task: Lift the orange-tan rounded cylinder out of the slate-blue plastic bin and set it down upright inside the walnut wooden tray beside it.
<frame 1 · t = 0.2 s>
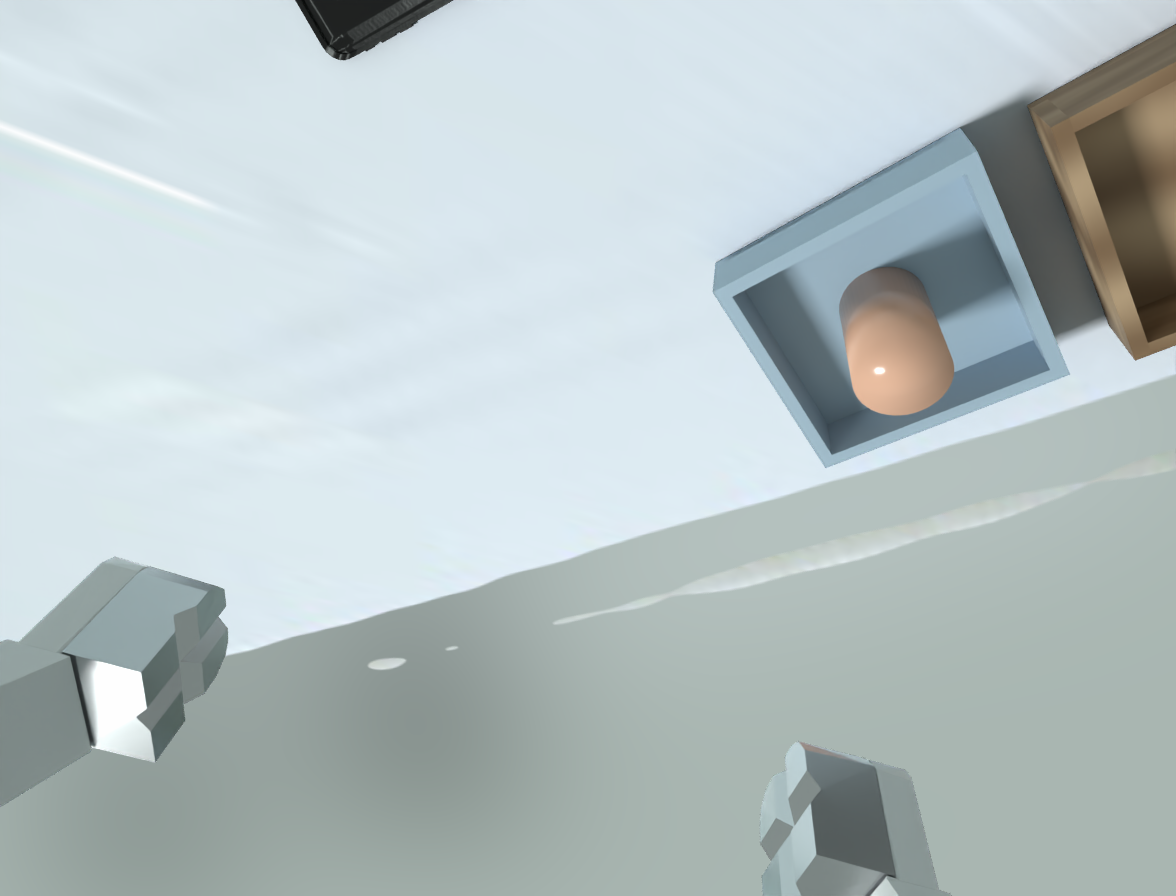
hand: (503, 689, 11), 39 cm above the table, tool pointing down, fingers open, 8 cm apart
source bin: (881, 300, 47), on the table
orange-tan rounded cylinder: (882, 305, 46), point 1 cm above the table, touching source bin
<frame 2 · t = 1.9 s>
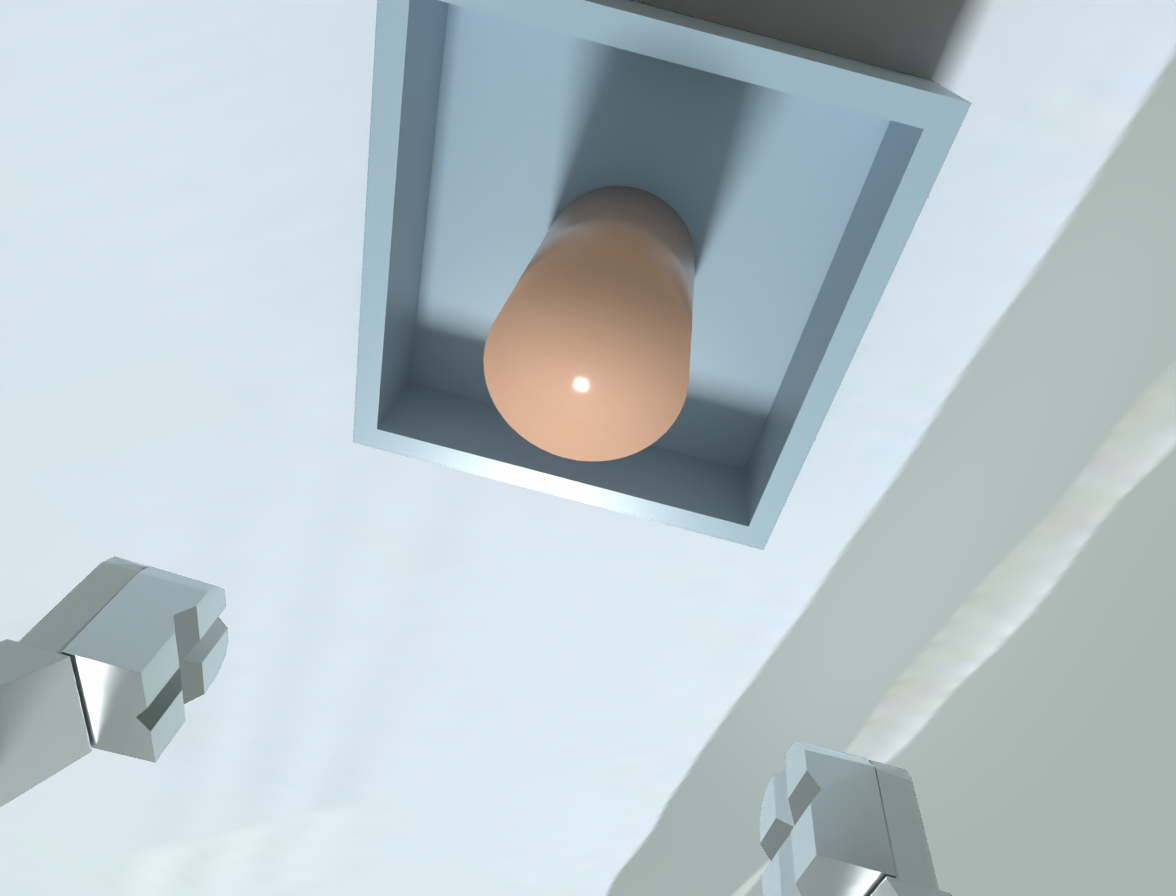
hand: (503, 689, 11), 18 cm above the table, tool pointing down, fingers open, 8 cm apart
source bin: (620, 257, 26), on the table
orange-tan rounded cylinder: (618, 263, 25), point 1 cm above the table, touching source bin
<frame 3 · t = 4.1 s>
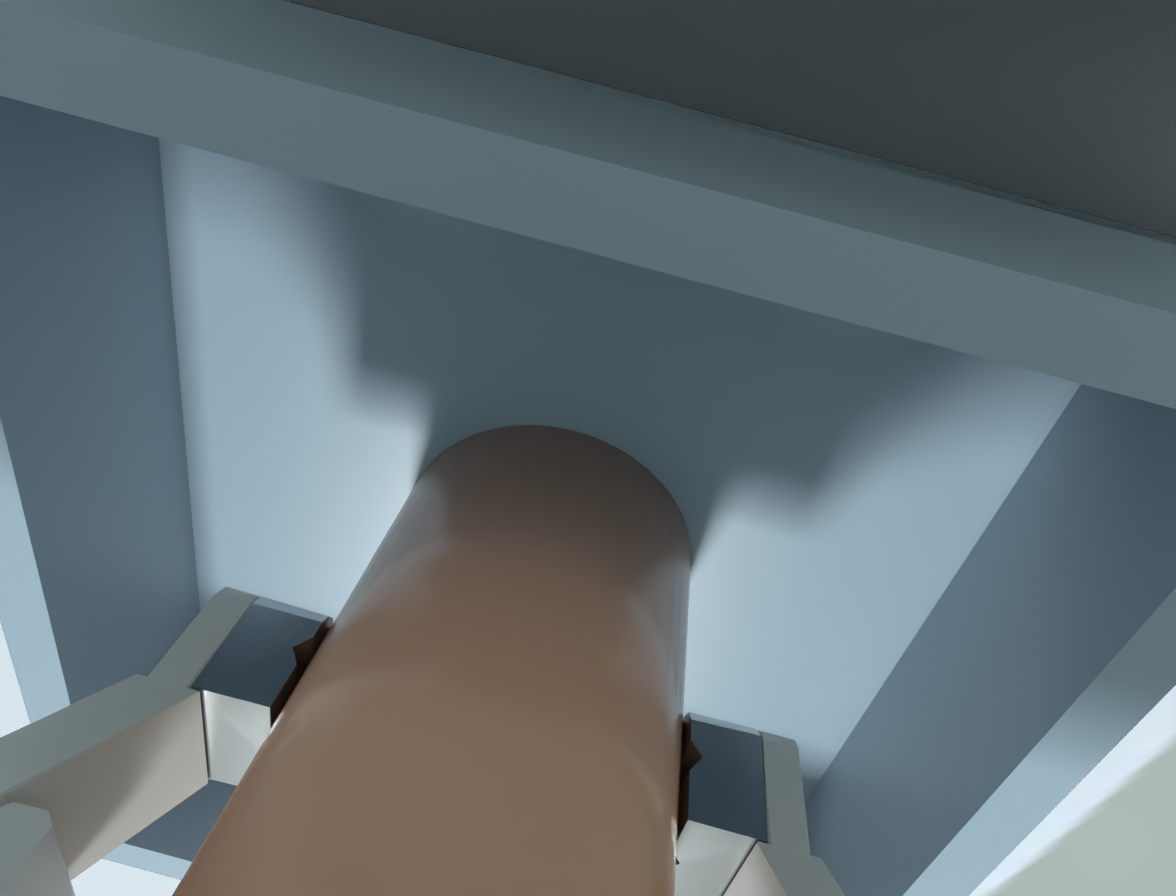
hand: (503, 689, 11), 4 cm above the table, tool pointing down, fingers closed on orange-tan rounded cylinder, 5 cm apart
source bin: (552, 528, 14), on the table
orange-tan rounded cylinder: (546, 549, 13), point 1 cm above the table, touching gripper, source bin
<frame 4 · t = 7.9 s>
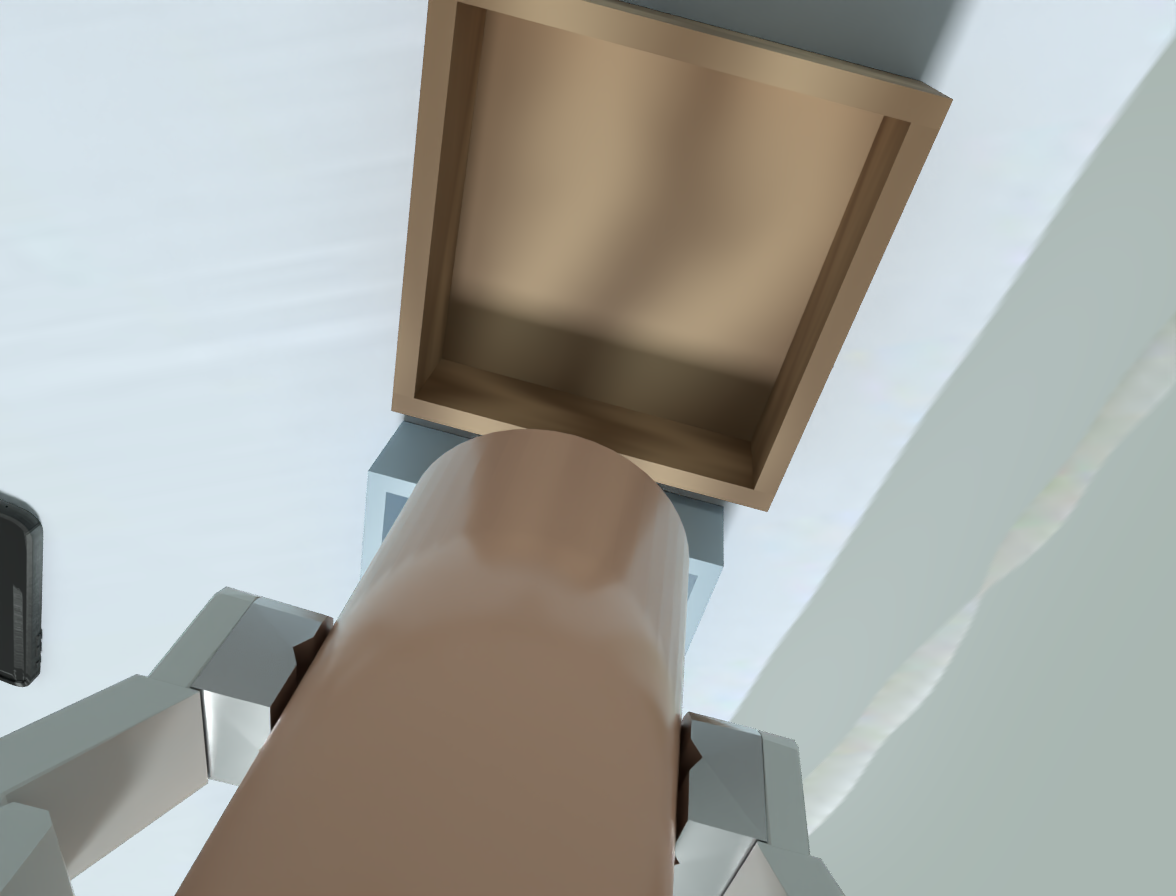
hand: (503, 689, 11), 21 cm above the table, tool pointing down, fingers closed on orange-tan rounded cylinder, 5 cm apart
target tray: (637, 242, 28), on the table
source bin: (533, 582, 38), on the table
orange-tan rounded cylinder: (544, 552, 13), point 18 cm above the table, touching gripper
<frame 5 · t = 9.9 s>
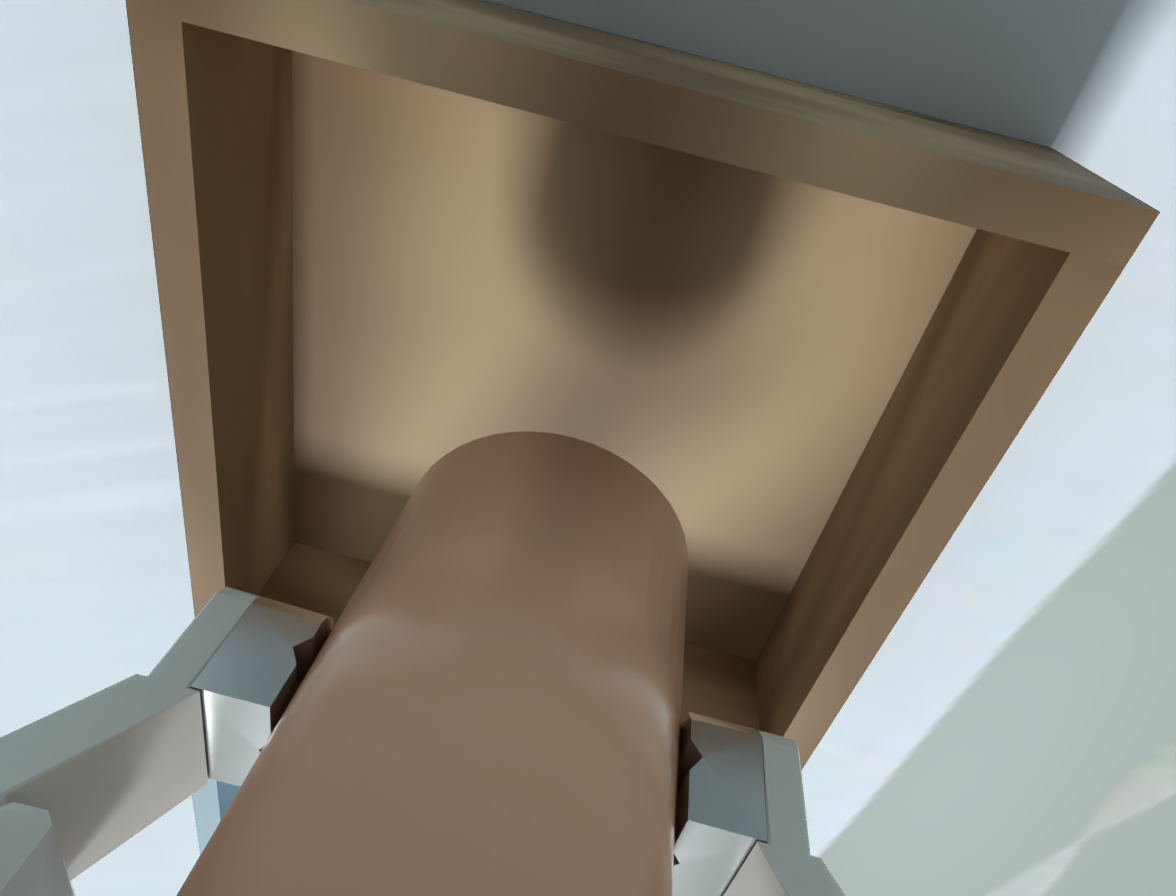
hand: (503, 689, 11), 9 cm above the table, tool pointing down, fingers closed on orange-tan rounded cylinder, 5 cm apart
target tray: (576, 390, 18), on the table
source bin: (458, 799, 28), on the table
orange-tan rounded cylinder: (544, 554, 13), point 5 cm above the table, touching gripper
when the fingers open (5 cm above the table, at t = 11.5 s): orange-tan rounded cylinder drops 1 cm, resting on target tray.
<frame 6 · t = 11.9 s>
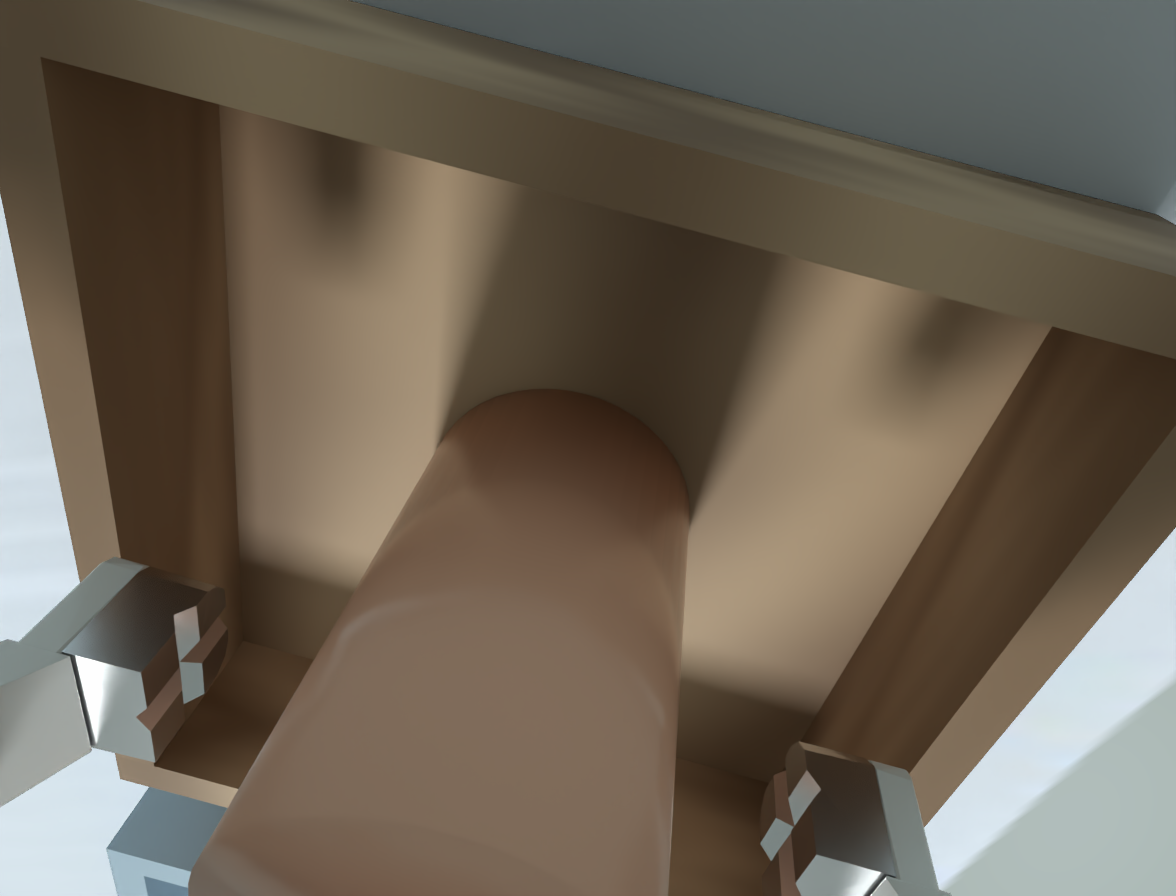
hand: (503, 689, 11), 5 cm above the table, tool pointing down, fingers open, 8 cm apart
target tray: (567, 481, 15), on the table
orange-tan rounded cylinder: (557, 504, 15), point 1 cm above the table, touching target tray
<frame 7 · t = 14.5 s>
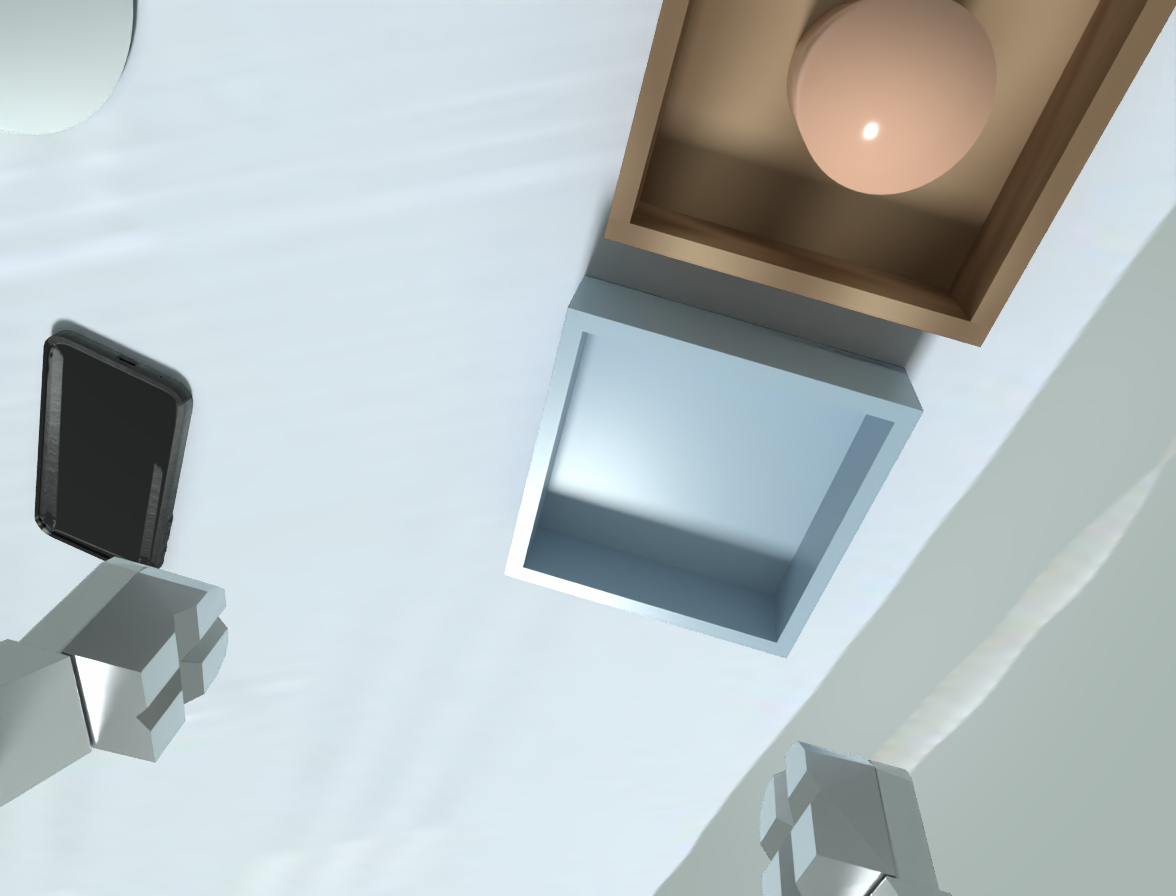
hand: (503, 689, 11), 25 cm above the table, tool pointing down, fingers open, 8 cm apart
phone: (120, 456, 45), on the table
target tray: (858, 71, 28), on the table
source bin: (693, 455, 38), on the table
orange-tan rounded cylinder: (858, 77, 28), point 1 cm above the table, touching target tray
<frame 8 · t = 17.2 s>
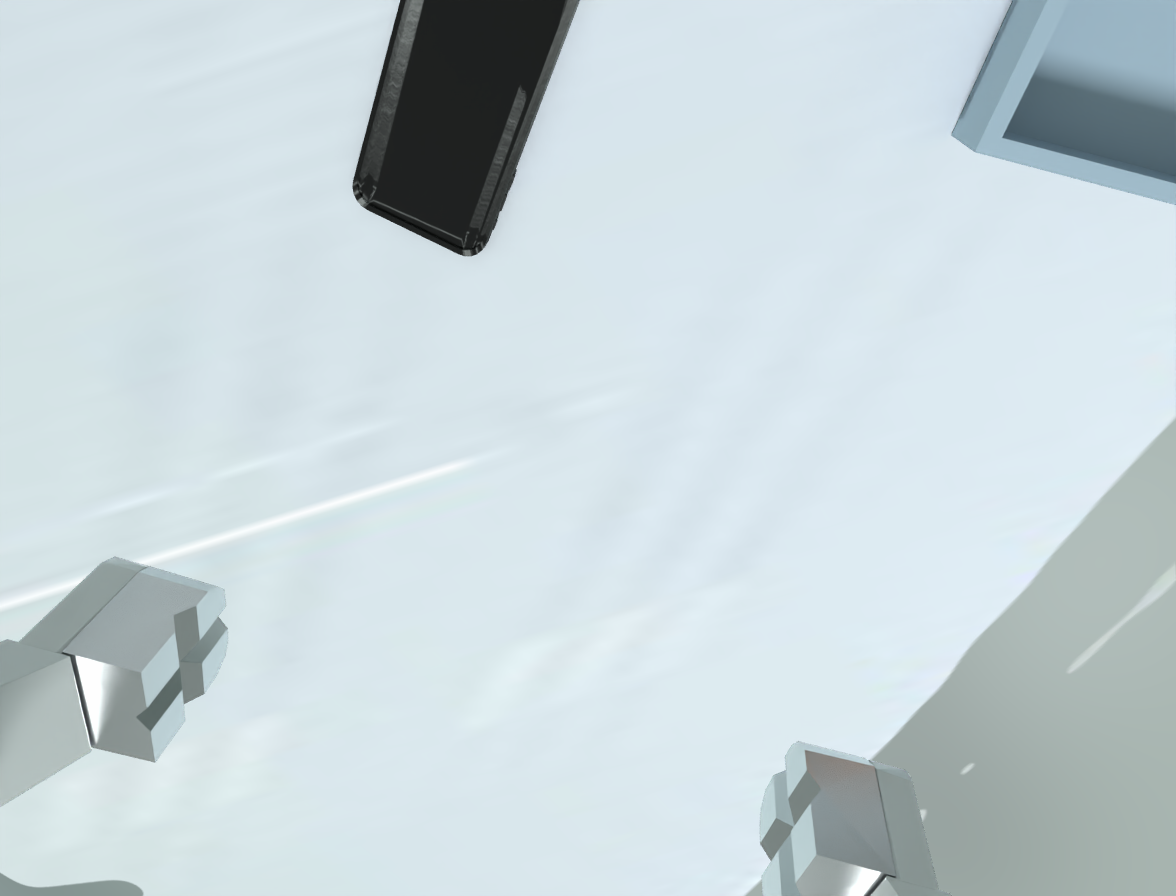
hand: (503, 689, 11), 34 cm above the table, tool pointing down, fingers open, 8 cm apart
phone: (464, 95, 39), on the table
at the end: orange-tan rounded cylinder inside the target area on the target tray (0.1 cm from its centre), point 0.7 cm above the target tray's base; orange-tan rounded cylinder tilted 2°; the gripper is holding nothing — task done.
